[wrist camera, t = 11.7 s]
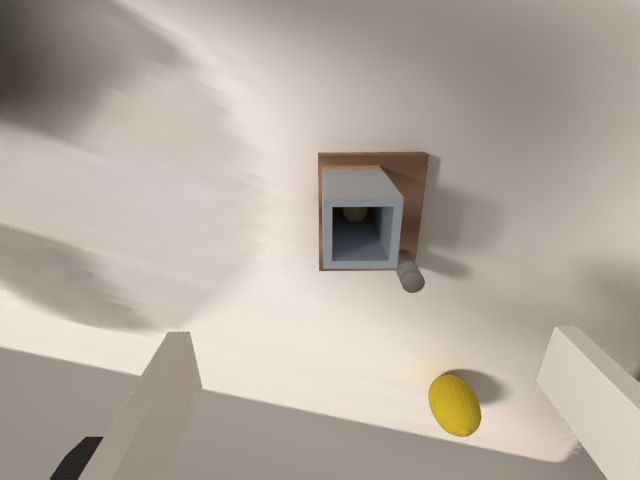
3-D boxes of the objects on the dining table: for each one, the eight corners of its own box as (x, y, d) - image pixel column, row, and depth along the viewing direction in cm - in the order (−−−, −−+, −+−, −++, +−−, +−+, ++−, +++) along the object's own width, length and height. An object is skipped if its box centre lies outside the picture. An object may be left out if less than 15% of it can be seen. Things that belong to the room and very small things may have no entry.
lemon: (450, 396, 45) (475, 456, 38) (413, 385, 44) (432, 444, 37) (471, 368, 43) (503, 425, 35) (434, 356, 42) (458, 412, 35)
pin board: (318, 152, 31) (318, 167, 25) (423, 152, 31) (447, 166, 25) (319, 264, 36) (319, 297, 30) (410, 263, 36) (428, 297, 30)
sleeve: (322, 165, 30) (323, 198, 21) (378, 165, 30) (403, 197, 21) (322, 218, 33) (323, 268, 23) (375, 218, 32) (396, 268, 23)
